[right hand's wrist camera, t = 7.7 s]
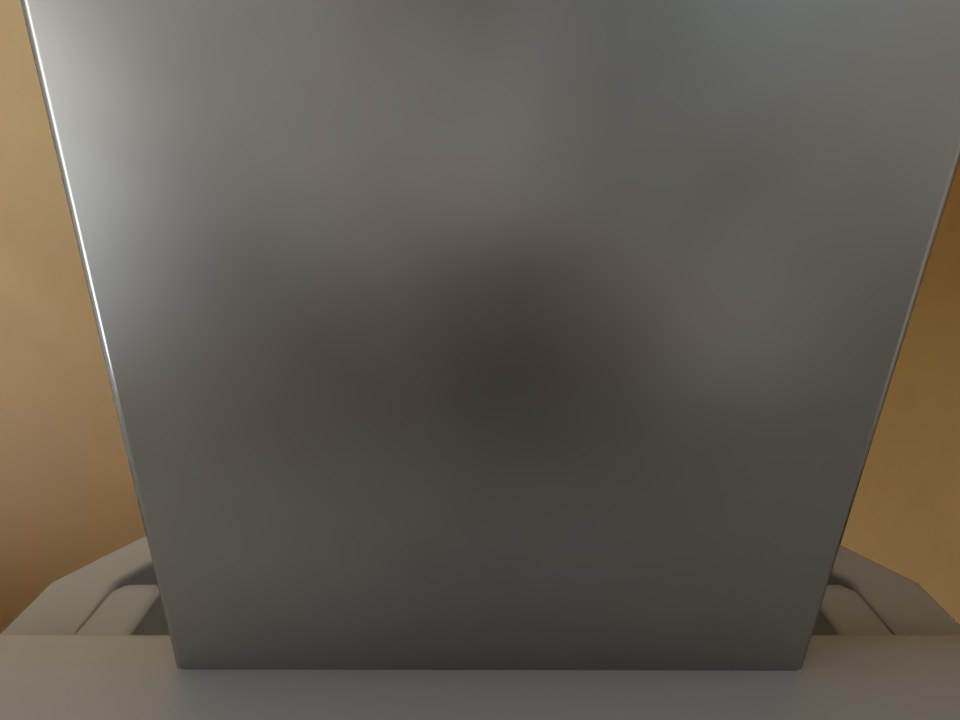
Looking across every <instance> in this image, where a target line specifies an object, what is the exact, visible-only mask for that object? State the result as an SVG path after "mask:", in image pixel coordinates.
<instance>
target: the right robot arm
mask: <svg viewBox="0 0 960 720" xmlns="http://www.w3.org/2000/svg"><path fill="white" fill-rule="evenodd" d="M0 720H960V625H959V624H958V623H957V622H956V621H955V620H954V619H953V618H952V617H951V616H950V615H949V614H948V613H947V612H946V611H945V610H944V609H943V608H942V607H941V606H940V605H939V604H938V603H937V602H936V601H935V600H934V599H933V598H932V597H931V596H930V595H929V594H928V593H927V592H926V591H925V590H924V589H923V588H922V587H921V586H920V585H919V584H917V583H916V582H914V581H912V580H910V579H908V578H906V577H904V576H902V575H900V574H897V573H895V572H893V571H891V570H889V569H887V568H885V567H883V566H881V565H879V564H877V563H875V562H873V561H871V560H869V559H867V558H865V557H863V556H861V555H859V554H857V553H855V552H853V551H851V550H849V549H847V548H845V547H843V546H841V545H840V546H839V549H838V553H837V556H836V559H835V562H834V565H833V569H832V572H831V575H830V578H829V582H828V585H827V588H826V591H825V594H824V598H823V601H822V604H821V607H820V611H819V614H818V617H817V620H816V623H815V627H814V630H813V633H812V636H811V640H810V643H809V646H808V649H807V652H806V656H805V659H804V662H803V665H802V669H799V670H797V671H703V670H195V669H180V668H177V665H176V660H175V656H174V652H173V648H172V643H171V639H170V635H169V631H168V626H167V622H166V618H165V614H164V609H163V605H162V601H161V597H160V592H159V588H158V584H157V580H156V575H155V571H154V567H153V563H152V558H151V554H150V550H149V545H148V541H147V537H146V536H144V537H142V538H140V539H138V540H136V541H134V542H132V543H130V544H128V545H126V546H124V547H122V548H120V549H118V550H116V551H114V552H112V553H110V554H108V555H106V556H104V557H102V558H100V559H98V560H96V561H94V562H92V563H90V564H88V565H86V566H84V567H82V568H80V569H78V570H76V571H74V572H72V573H70V574H68V575H66V576H64V577H62V578H60V579H58V580H56V581H54V582H52V583H51V584H50V585H49V586H48V587H47V588H46V589H45V590H44V591H43V592H42V593H41V594H40V595H39V596H38V597H37V598H36V599H35V600H34V601H33V602H32V603H31V604H30V605H29V606H28V607H27V608H26V609H25V610H24V611H23V612H22V613H21V614H20V615H19V616H18V617H17V618H16V619H15V620H14V621H13V622H12V623H11V624H10V625H9V626H8V627H7V628H6V629H5V630H4V631H3V632H2V633H1V634H0Z"/></svg>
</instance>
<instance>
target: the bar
mask: <svg viewBox="0 0 960 720" xmlns="http://www.w3.org/2000/svg"><path fill="white" fill-rule="evenodd" d="M20 1H21V5H22V9H23V13H24V18H25V22H26V26H27V30H28V35H29V39H30V43H31V47H32V52H33V56H34V60H35V65H36V69H37V73H38V77H39V82H40V86H41V90H42V94H43V99H44V103H45V107H46V111H47V116H48V120H49V124H50V128H51V133H52V137H53V141H54V145H55V150H56V154H57V158H58V162H59V167H60V171H61V175H62V179H63V184H64V188H65V192H66V196H67V201H68V205H69V209H70V213H71V218H72V222H73V226H74V231H75V235H76V239H77V243H78V248H79V252H80V256H81V260H82V265H83V269H84V273H85V277H86V282H87V286H88V290H89V294H90V299H91V303H92V307H93V311H94V316H95V320H96V324H97V328H98V333H99V337H100V341H101V345H102V350H103V354H104V358H105V362H106V367H107V371H108V375H109V379H110V384H111V388H112V392H113V397H114V401H115V405H116V409H117V414H118V418H119V422H120V426H121V431H122V435H123V439H124V443H125V448H126V452H127V456H128V460H129V465H130V469H131V473H132V477H133V482H134V486H135V490H136V494H137V499H138V503H139V507H140V511H141V516H142V520H143V524H144V528H145V533H146V537H147V541H148V545H149V550H150V554H151V558H152V563H153V567H154V571H155V575H156V580H157V584H158V588H159V592H160V597H161V601H162V605H163V609H164V614H165V618H166V622H167V626H168V631H169V635H170V639H171V643H172V648H173V652H174V656H175V660H176V665H177V668H180V669H195V670H703V671H797V670H799V669H802V665H803V662H804V659H805V656H806V652H807V649H808V646H809V643H810V640H811V636H812V633H813V630H814V627H815V623H816V620H817V617H818V614H819V611H820V607H821V604H822V601H823V598H824V594H825V591H826V588H827V585H828V582H829V578H830V575H831V572H832V569H833V565H834V562H835V559H836V556H837V553H838V549H839V546H840V543H841V540H842V536H843V533H844V530H845V527H846V524H847V520H848V517H849V514H850V511H851V507H852V504H853V501H854V498H855V494H856V491H857V488H858V485H859V482H860V478H861V475H862V472H863V469H864V465H865V462H866V459H867V456H868V453H869V449H870V446H871V443H872V440H873V436H874V433H875V430H876V427H877V424H878V420H879V417H880V414H881V411H882V407H883V404H884V401H885V398H886V395H887V391H888V388H889V385H890V382H891V378H892V375H893V372H894V369H895V366H896V362H897V359H898V356H899V353H900V349H901V346H902V343H903V340H904V337H905V333H906V330H907V327H908V324H909V320H910V317H911V314H912V311H913V308H914V304H915V301H916V298H917V295H918V291H919V288H920V285H921V282H922V279H923V275H924V272H925V269H926V266H927V262H928V259H929V256H930V253H931V250H932V246H933V243H934V240H935V237H936V233H937V230H938V227H939V224H940V221H941V217H942V214H943V211H944V208H945V204H946V201H947V198H948V195H949V192H950V188H951V185H952V182H953V179H954V175H955V172H956V169H957V166H958V163H959V159H960V0H20Z"/></svg>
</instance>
